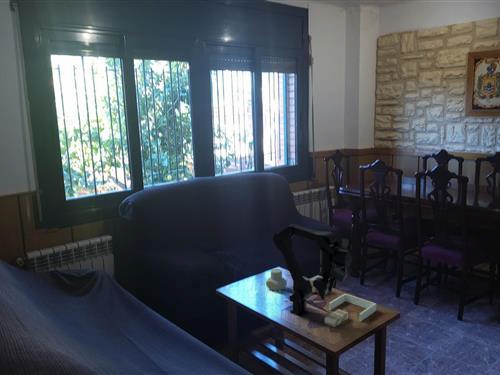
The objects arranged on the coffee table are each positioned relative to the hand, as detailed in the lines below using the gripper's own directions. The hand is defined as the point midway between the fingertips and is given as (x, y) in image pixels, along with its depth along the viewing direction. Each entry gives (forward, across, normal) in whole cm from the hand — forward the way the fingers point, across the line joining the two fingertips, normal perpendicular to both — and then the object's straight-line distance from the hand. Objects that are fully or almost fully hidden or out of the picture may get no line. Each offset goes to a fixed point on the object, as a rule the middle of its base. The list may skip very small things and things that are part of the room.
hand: (326, 295), depth 186 cm
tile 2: (+13, +6, -4) cm, 15 cm away
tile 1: (+13, +1, -3) cm, 13 cm away
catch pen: (+13, +17, -7) cm, 22 cm away
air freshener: (+12, +22, +35) cm, 43 cm away
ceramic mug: (+13, +29, +14) cm, 35 cm away
